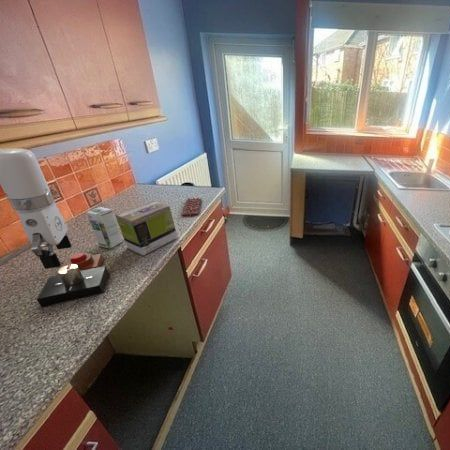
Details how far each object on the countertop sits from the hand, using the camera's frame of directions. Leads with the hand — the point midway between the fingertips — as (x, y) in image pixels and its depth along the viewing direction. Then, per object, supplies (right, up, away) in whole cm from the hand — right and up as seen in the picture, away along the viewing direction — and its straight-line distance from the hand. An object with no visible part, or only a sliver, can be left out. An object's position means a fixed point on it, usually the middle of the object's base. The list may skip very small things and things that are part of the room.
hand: (59, 257), depth 70 cm
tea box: (+9, +1, +29) cm, 30 cm away
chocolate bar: (+12, +18, +59) cm, 63 cm away
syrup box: (-6, +1, +28) cm, 28 cm away
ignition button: (-5, -2, +12) cm, 14 cm away
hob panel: (0, -10, +6) cm, 12 cm away
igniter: (-6, -6, +14) cm, 16 cm away
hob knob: (0, -8, +4) cm, 9 cm away
